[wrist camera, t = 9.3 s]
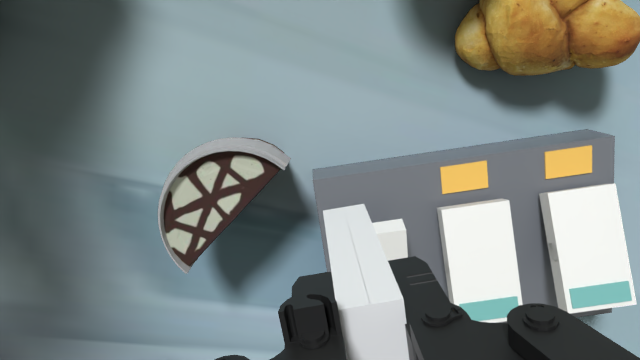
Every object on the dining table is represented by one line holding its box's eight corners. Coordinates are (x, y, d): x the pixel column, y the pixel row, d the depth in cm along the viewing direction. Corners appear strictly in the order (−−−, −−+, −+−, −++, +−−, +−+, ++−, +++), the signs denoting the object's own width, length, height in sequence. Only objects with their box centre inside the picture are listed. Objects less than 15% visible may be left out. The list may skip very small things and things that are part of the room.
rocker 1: (333, 228, 37) (335, 241, 36) (401, 218, 37) (406, 230, 36) (347, 317, 42) (349, 332, 41) (407, 309, 42) (412, 323, 40)
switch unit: (312, 169, 44) (312, 184, 38) (587, 129, 43) (626, 138, 38) (337, 326, 48) (340, 359, 42) (587, 291, 47) (621, 321, 42)
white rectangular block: (539, 193, 40) (548, 193, 38) (603, 184, 40) (616, 183, 38) (558, 309, 39) (569, 314, 37) (624, 300, 39) (637, 304, 37)
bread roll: (452, 88, 42) (484, 94, 34) (440, -25, 40) (471, -46, 32) (593, 61, 42) (658, 61, 34) (590, -55, 39) (658, -83, 31)
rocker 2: (436, 207, 39) (441, 210, 38) (501, 198, 39) (509, 200, 38) (452, 321, 40) (457, 328, 38) (516, 312, 40) (525, 319, 38)
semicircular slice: (244, 95, 42) (224, 105, 32) (294, 140, 43) (289, 164, 33) (160, 191, 44) (117, 228, 34) (210, 232, 45) (182, 279, 35)
